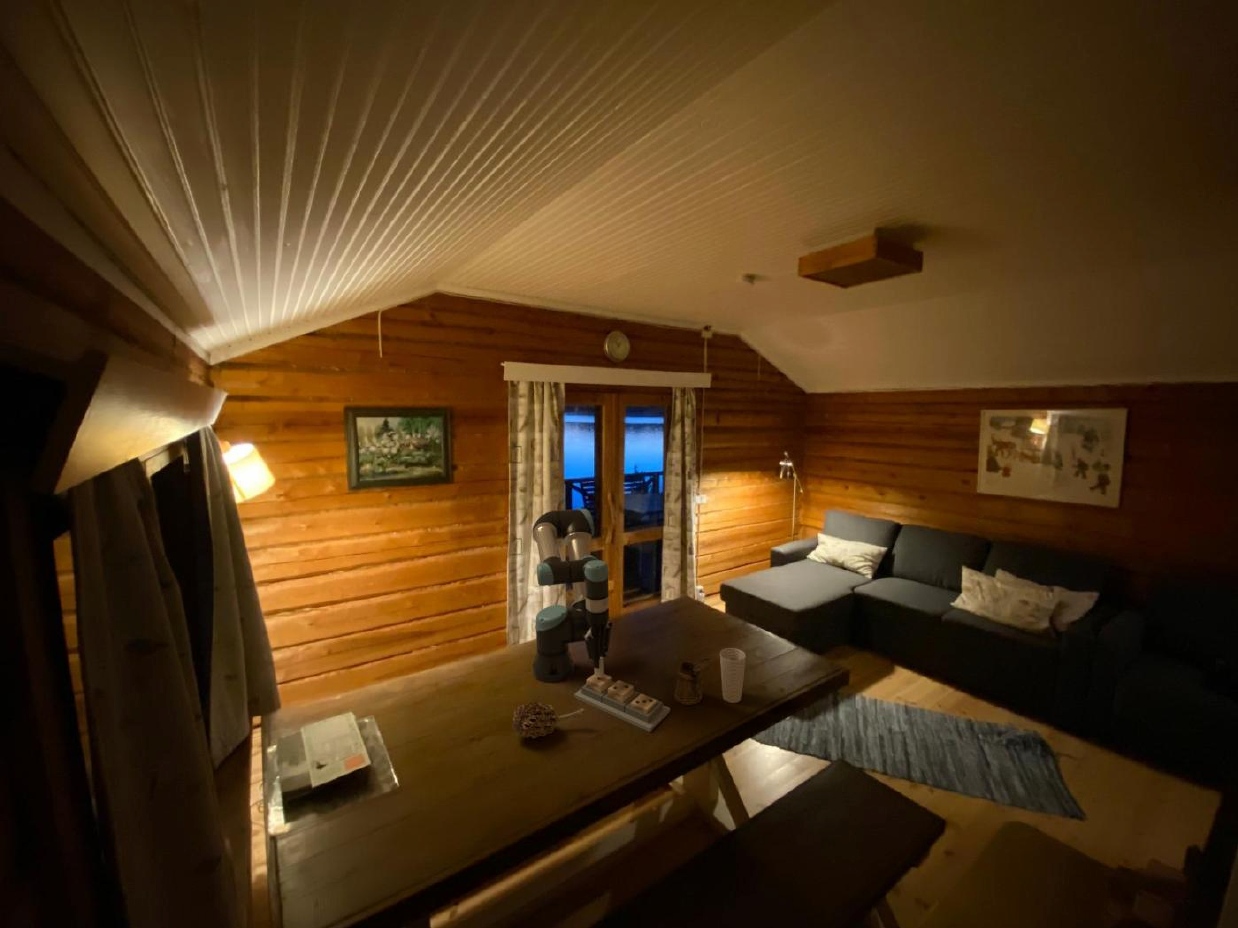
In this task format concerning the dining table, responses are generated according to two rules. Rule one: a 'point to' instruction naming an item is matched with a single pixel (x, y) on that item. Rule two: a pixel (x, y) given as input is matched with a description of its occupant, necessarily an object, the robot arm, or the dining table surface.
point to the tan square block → (599, 683)
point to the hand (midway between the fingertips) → (599, 675)
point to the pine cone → (538, 719)
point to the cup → (732, 673)
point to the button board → (623, 708)
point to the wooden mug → (689, 682)
